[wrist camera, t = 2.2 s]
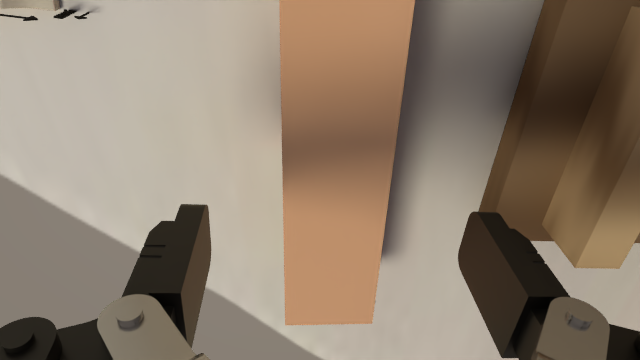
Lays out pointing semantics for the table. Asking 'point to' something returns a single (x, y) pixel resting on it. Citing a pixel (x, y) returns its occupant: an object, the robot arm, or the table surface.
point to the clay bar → (338, 150)
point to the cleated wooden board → (575, 134)
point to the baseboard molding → (37, 1)
